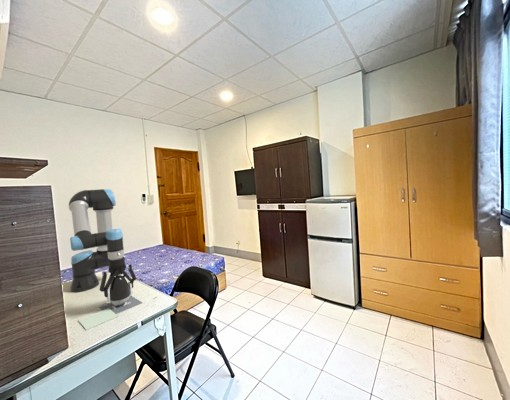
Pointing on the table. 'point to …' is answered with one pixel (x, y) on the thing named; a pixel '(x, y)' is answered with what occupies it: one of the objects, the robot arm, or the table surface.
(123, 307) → the tile
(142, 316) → the table surface
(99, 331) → the table surface
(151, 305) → the table surface
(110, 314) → the mat
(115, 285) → the pump dispenser
